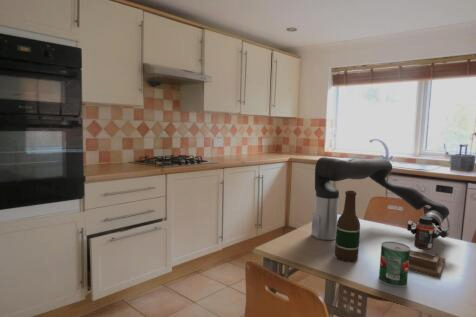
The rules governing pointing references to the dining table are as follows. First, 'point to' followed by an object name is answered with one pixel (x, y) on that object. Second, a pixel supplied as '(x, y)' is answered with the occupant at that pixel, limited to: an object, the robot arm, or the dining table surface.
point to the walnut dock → (426, 263)
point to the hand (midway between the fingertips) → (423, 233)
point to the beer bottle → (348, 231)
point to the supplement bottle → (424, 234)
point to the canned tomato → (394, 264)
